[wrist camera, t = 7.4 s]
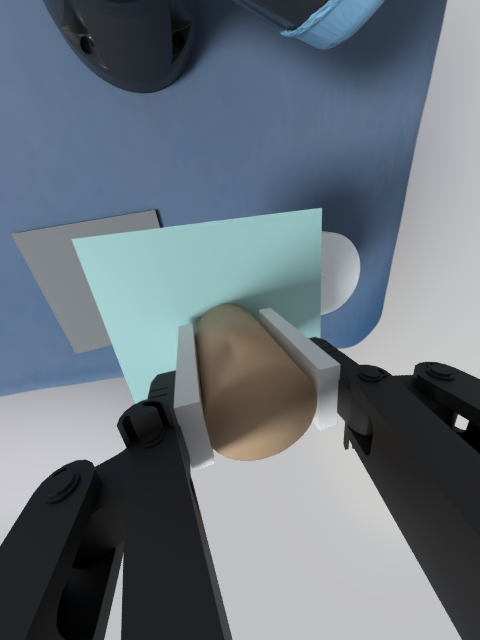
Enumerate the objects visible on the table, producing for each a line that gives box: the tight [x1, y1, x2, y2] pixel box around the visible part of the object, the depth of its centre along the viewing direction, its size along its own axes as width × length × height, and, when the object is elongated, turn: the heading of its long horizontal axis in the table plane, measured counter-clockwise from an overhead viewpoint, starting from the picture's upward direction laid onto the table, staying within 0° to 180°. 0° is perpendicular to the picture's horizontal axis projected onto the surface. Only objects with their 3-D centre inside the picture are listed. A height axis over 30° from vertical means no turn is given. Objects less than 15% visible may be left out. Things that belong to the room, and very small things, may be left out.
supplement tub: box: [321, 231, 360, 315], centre depth 31 cm, size 10×10×15 cm
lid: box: [71, 208, 322, 461], centre depth 11 cm, size 13×13×8 cm
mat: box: [11, 210, 160, 354], centre depth 33 cm, size 18×18×1 cm
